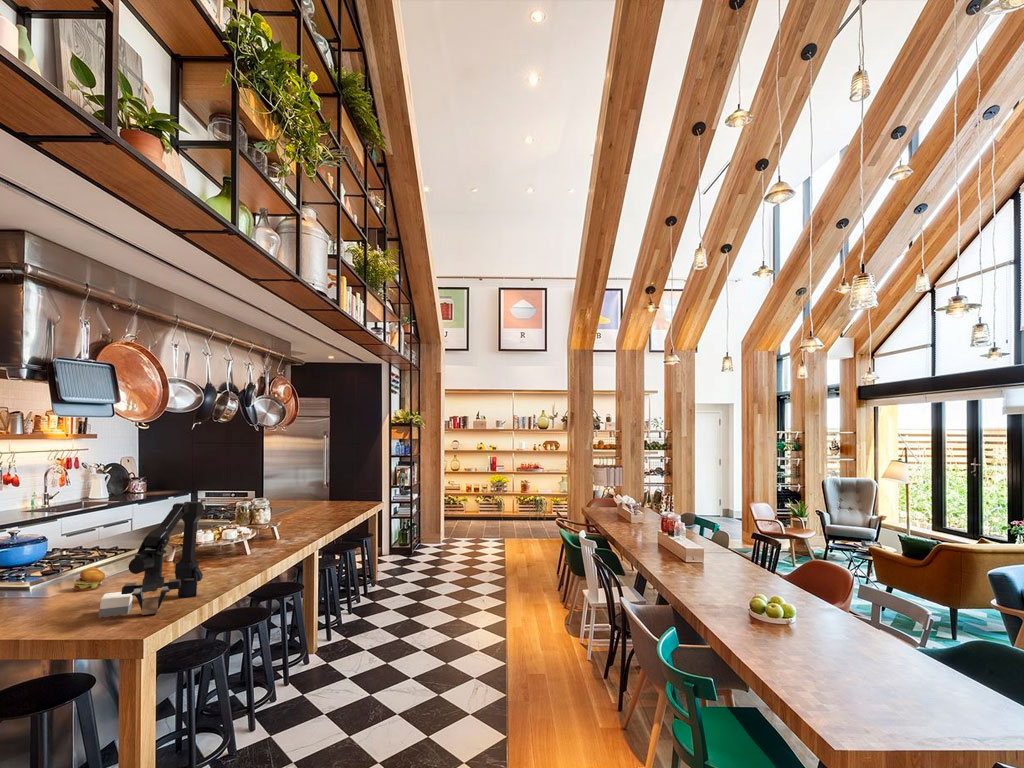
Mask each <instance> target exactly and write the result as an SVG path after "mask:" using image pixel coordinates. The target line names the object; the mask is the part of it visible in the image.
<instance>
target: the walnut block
mask: <svg viewBox="0 0 1024 768" xmlns="http://www.w3.org/2000/svg"><path fill="white" fill-rule="evenodd" d="M159 599H160V595H158V596H149V597H143V602H142V611H141V615H142V616H144V615H145V616H146V615H156V614H158V613H159V610H160V608H159V609H158V604H159Z"/></svg>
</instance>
